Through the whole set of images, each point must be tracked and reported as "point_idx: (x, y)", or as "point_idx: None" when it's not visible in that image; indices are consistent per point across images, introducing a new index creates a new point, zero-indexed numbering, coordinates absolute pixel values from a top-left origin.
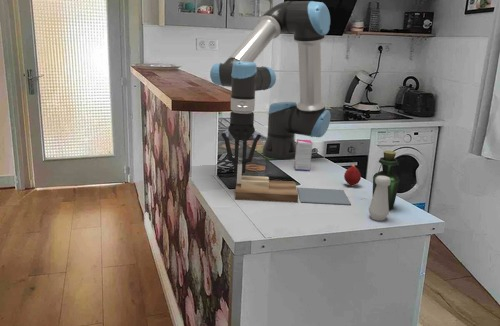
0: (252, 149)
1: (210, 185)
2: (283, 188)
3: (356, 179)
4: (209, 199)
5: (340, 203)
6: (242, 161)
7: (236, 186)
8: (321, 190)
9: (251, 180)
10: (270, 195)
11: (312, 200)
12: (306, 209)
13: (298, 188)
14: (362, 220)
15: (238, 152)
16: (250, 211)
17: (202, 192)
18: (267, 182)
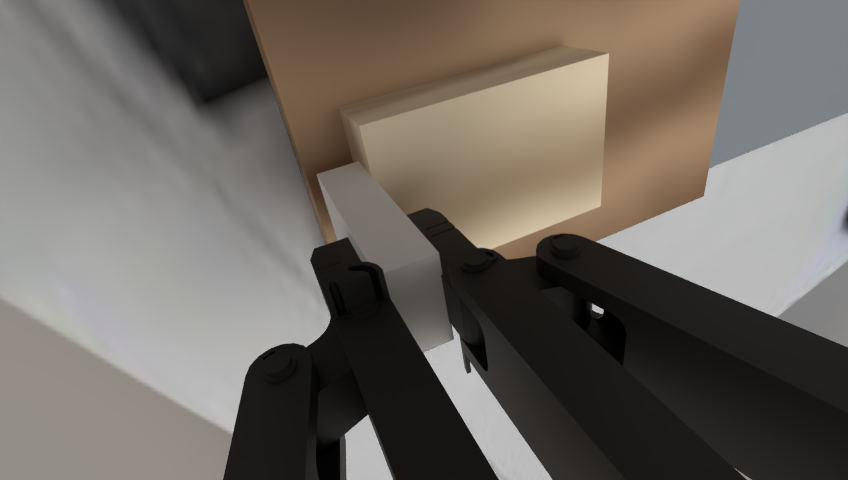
0: (736, 446)
1: None
2: (652, 112)
3: None
4: (187, 388)
5: (832, 116)
6: (473, 358)
7: (331, 233)
8: None
9: (475, 230)
10: None
11: (739, 133)
12: (682, 243)
13: None
14: (816, 244)
15: (452, 413)
16: (463, 389)
17: (30, 311)
18: (589, 208)
